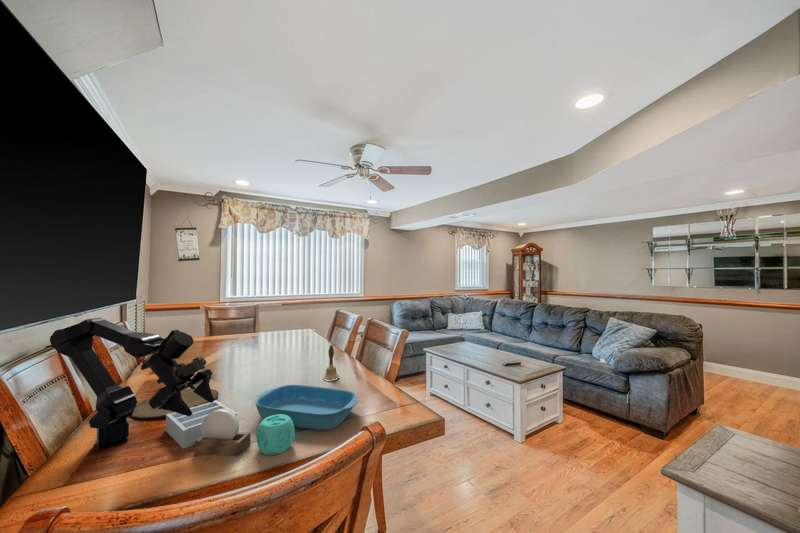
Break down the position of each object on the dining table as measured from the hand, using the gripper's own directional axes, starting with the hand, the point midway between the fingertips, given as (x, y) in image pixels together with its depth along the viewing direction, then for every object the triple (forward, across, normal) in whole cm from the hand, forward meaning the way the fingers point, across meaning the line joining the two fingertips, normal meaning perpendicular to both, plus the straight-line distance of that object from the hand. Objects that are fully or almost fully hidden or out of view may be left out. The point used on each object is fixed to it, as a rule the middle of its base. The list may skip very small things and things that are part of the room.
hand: (202, 408), depth 93 cm
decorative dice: (+23, +2, -7) cm, 24 cm away
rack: (+3, +10, +13) cm, 17 cm away
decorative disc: (-13, +29, +30) cm, 44 cm away
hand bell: (+22, +63, -6) cm, 67 cm away
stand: (+13, 0, +4) cm, 13 cm away
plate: (+8, 0, 0) cm, 8 cm away
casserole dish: (+25, +23, -8) cm, 34 cm away
